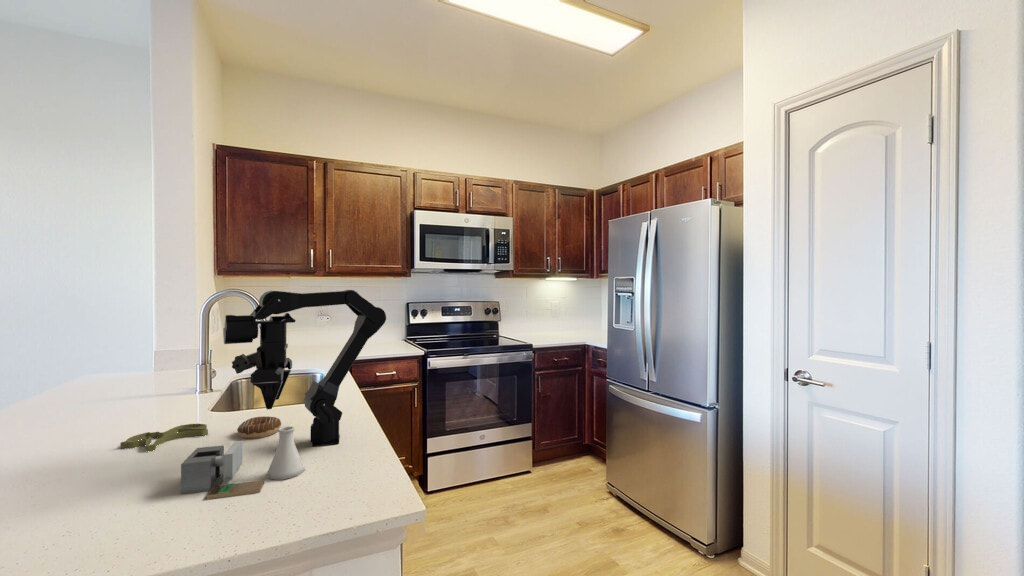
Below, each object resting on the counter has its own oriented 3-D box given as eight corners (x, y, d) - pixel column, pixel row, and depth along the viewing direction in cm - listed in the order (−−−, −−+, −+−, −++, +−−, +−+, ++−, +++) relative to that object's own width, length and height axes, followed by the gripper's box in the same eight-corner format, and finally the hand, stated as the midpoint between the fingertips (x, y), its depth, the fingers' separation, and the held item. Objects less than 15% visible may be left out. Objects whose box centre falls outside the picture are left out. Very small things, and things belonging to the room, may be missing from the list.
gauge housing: (272, 466, 98) (272, 440, 98) (260, 492, 86) (260, 462, 86) (196, 475, 93) (197, 448, 93) (172, 504, 81) (172, 472, 81)
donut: (289, 429, 125) (289, 415, 125) (262, 441, 115) (262, 426, 115) (257, 426, 127) (257, 413, 127) (227, 439, 117) (227, 424, 117)
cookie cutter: (138, 456, 105) (138, 448, 105) (114, 448, 110) (114, 440, 110) (216, 434, 121) (216, 427, 121) (192, 427, 126) (192, 421, 126)
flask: (281, 483, 90) (282, 435, 90) (259, 476, 93) (260, 430, 93) (311, 470, 97) (311, 425, 97) (290, 464, 100) (290, 421, 100)
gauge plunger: (242, 463, 96) (242, 440, 96) (226, 487, 85) (227, 461, 85) (218, 466, 94) (218, 442, 94) (199, 491, 83) (199, 464, 83)
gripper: (245, 338, 113) (244, 397, 113) (224, 347, 95) (223, 418, 95) (292, 336, 117) (292, 394, 117) (280, 345, 99) (280, 413, 99)
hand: (272, 404), depth 107 cm, fingers open, 9 cm apart
